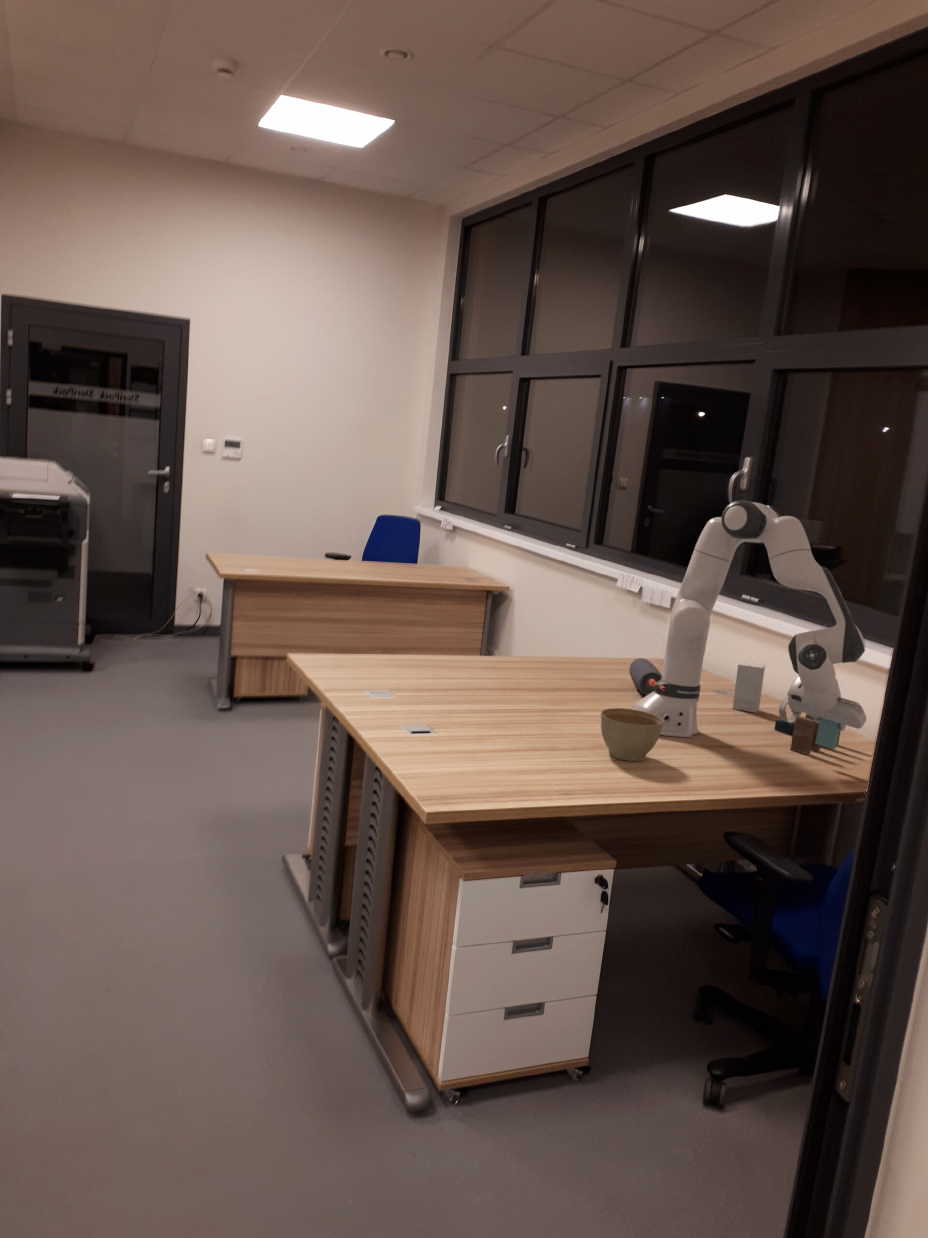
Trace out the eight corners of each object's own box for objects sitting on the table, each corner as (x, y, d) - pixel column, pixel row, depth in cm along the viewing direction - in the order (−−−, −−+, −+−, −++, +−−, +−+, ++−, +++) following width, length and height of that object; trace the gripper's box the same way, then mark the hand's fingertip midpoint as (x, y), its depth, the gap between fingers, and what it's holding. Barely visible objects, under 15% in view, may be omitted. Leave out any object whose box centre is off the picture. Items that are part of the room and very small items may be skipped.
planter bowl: (615, 743, 260) (620, 704, 258) (668, 759, 250) (674, 719, 248) (583, 752, 247) (589, 712, 246) (638, 770, 238) (644, 728, 236)
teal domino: (832, 749, 257) (840, 713, 255) (815, 743, 260) (822, 708, 259) (835, 748, 258) (843, 713, 257) (818, 742, 262) (825, 708, 260)
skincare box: (759, 710, 318) (766, 665, 316) (756, 714, 312) (764, 668, 310) (733, 705, 322) (741, 660, 319) (730, 708, 316) (738, 663, 313)
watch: (802, 733, 293) (808, 699, 291) (785, 735, 289) (791, 700, 287) (787, 728, 298) (793, 694, 296) (770, 730, 293) (776, 695, 291)
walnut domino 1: (806, 755, 269) (812, 721, 268) (790, 750, 273) (795, 716, 271) (809, 754, 271) (815, 720, 269) (793, 749, 274) (799, 715, 272)
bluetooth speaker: (663, 701, 316) (668, 672, 314) (635, 698, 316) (640, 669, 314) (651, 685, 338) (655, 658, 337) (625, 682, 338) (629, 655, 337)
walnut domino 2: (816, 752, 274) (822, 718, 272) (800, 747, 277) (805, 714, 276) (819, 751, 275) (825, 717, 274) (803, 746, 279) (809, 713, 277)
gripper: (866, 695, 244) (873, 727, 253) (792, 675, 258) (801, 706, 267) (855, 713, 242) (863, 745, 250) (781, 692, 256) (791, 723, 264)
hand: (830, 724), depth 259 cm, fingers closed on teal domino, 5 cm apart
